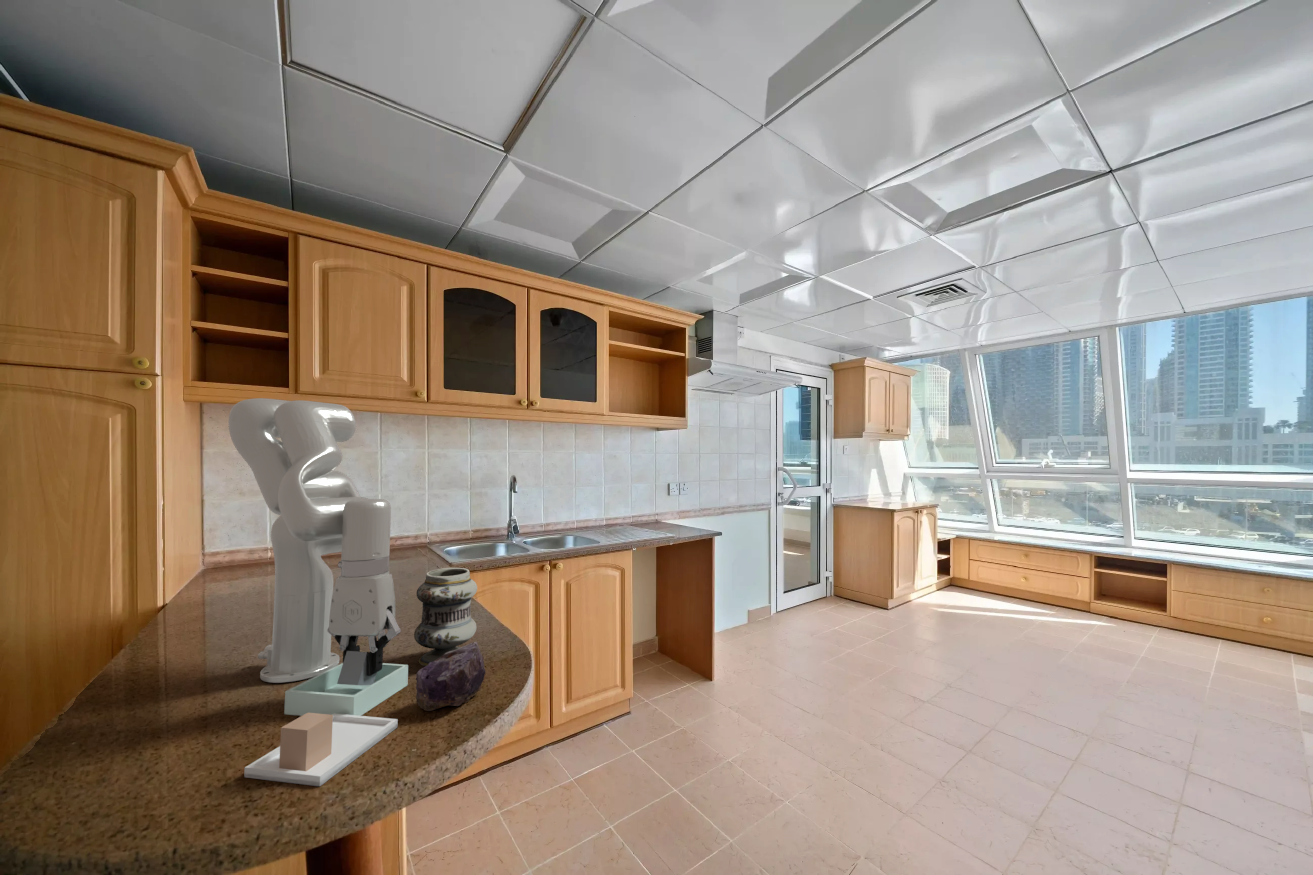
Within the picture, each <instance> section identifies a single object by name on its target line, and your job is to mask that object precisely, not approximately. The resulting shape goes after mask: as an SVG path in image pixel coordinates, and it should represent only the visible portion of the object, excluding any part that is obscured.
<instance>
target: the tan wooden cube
mask: <svg viewBox="0 0 1313 875" xmlns="http://www.w3.org/2000/svg"><path fill="white" fill-rule="evenodd" d="M332 723H333V715H329V714H318V713H306V714H304V715H303V716H299V717H298V718H296V719H294V720H292V721H290V722H288V723H287V724H285V725H283V726H282V727H281V728H280V743H279V746H280V762H279V768H282V769H290V770H299V771H308V770H309V769H311V768H312V767H313V766H315V765H316V764H318V763H319V762H320V761H322V760H323V759H325V758H326V757H328V756H329V755H330V754H331V748H332Z"/></svg>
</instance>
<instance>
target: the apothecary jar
mask: <svg viewBox="0 0 1313 875" xmlns="http://www.w3.org/2000/svg"><path fill="white" fill-rule="evenodd" d="M477 592H478V585H477V582H476V581H475V580H473V579H472V578H471V574H470V570H469V569H468V568H464V567H443V568H438V569H433V570H430V571H428V572H426V575H425V580H424V582H423V583H422V584H420V586H418V588H417V590H416V597H417V599H418V601H420V602H421V603H422V611H421V612H422V613H421V614H422V615H421V621H420V623H419V624H418V625H417V626H416V628H415V630H414V634H413V637H414V640H415V642H416V643H417V644H418V645H419V646H421V647H422V648H423V647H424V648H427V649H432V650H430V651H428V652H426V653H424V654H423V655H421V657H420V658H419V660H418V663H419V664H420V665H421V666H422V667H426V666H427V665H428V664H429V663H430V662H434V661H435V660H436V659H438V658H440V657H441V656H443V655H444V654H445V653H447V652H449V651H454V650H456V649H459V648H461V646H460V645H463V644H465V643H466V642H468V641H470V640H471V639H472V637H473V636H474V635H475V634H476V631H477V623H476V621H475V620H474V619H473V618H472V614H471V613H472V612H471V610H472V609H471V608H472V607H471V605H472V598H473V597H474V596H475V595H476V593H477Z"/></svg>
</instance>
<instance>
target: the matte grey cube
mask: <svg viewBox="0 0 1313 875" xmlns="http://www.w3.org/2000/svg"><path fill="white" fill-rule="evenodd" d="M368 652H369V651H360V652H358V651H347V652H346V656H345V659H344V662H343V661H342V663H343V666H342V669H341V672H340V676H339V679H338V682H337V684H346V685H372V684H373V683H374V681H375V677H376V674H377V672H376V673H375V674H373V675H371V676H367V675H366V666H367V653H368Z"/></svg>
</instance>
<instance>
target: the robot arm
mask: <svg viewBox="0 0 1313 875" xmlns="http://www.w3.org/2000/svg"><path fill="white" fill-rule="evenodd" d="M356 428H357V420H356V418H355V415H354V413H353V412H352V410H350V408H348V407H347V406H345V405H343V404H337V403H331V402H321V401H312V400H300V399H299V400H297V399H296V400H285V399H275V398H261V397H259V398H248V399H243V400H241V401H239V402H237V403H235V404H234V405H233V407H231V409H230V412H229V415H228V430H229V436H230V438H231V442H232V444H233V446H234V447H235V450H236V451H237V452H238V454H239V455H240V457H241V458H242V460H244V461H245V463H246V464H247V465H248V467H249V468H250V469H251V471H252V473H253V476H254V479H255V481H256V483H257V485H258V488H259V490H260V492H261V495H262V497H263V500H264V501H265V504H266V506H267V507H268V509H269V510H270V511H271V513H273V514H275V515H278V516H279V517H277V518H276V519H275V521H273V524H272V525H271V530H270V541H271V546H272V547H271V548H272V552H273V560H274V598H273V600H274V602H273V617H272V618H273V620H272V621H273V622H272V636H271V637H272V639H271V644H268V645H266V646H265V648H264V650H263V651H262V650H261V651H260V652H259V653H258V654H257V658H258V659H259V660H260V659H261V660H262V659H263V660H266V665H265V666H264V667H263V668H262V669H260V670H261V671H260V672H259V674H260V675H259V678H260V680H261V681H263V682H265V683H270V684H271V683H273V684H279V683H280V684H281V683H291V682H296V681H297V682H298V681H302V680H307V679H311V678H313V677H315V676H317V675H319V674H321V673H323V672H325V671H327V670H329V669H331V668H333V667H336V666H338V665H339V664H340V655H339V654H337V653H335V652H331V647H332V637H333V638H334V639H335V641H336V642H337V643H338V645H339V650H340V651H342V663H343V662H344V659H345V656H346V652H347V651H358V652H361V648H360V645H358V642H359V641H358V640H359V637H367V639H368V646H369V651H367V652H368V653H367V666H366V675H367V676H371V675H373V674H375V673H376V672H378V671H380V670H381V669H382V664H383V663H384V660H383V659H384V648H385V647H387V645H388V644H389V643H390V641H391V640H393V639H395V637H397V636H399V634H401V630H402V629H401V628H400V626H399V625H398V623H397V620H396V595H395V594H396V593H395V585H394V580H393V575H392V573H390V550H391V546H390V545H391V518H392V517H391V515H392V514H391V513H392V506H391V504H390V502H389V501H388V500H386V499H383V498H368V497H362V496H361V495H360V493H359V492H358V489H357V488H356V485H355V484H354V481H353V480H352V479H351V478H350V476H348V475H347V474H345V473H344V472H341V471H338V470H335V469H337V468H338V467H339V465H340V464H341V462H342V461H343V452H342V450H341V449H340V447H339V445H338V444H339V443H344V442H347V441H349V440H351V438H353V436H354V435H355V433H356ZM278 438H279V439H280V440H279V439H278ZM335 553H341V554H340V556H341V560H340V561H339V562H338V564H337V567H338V569H340V575H339V576H337V577H336V579H335V583H334V574H333V571H332V569H331V568H330V567H329V566H328V564H327V563H326V562H325V561H324V560H323V558H322V556H324V555H325V556H326V555H329V554H335ZM386 630H387V632H386Z"/></svg>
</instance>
